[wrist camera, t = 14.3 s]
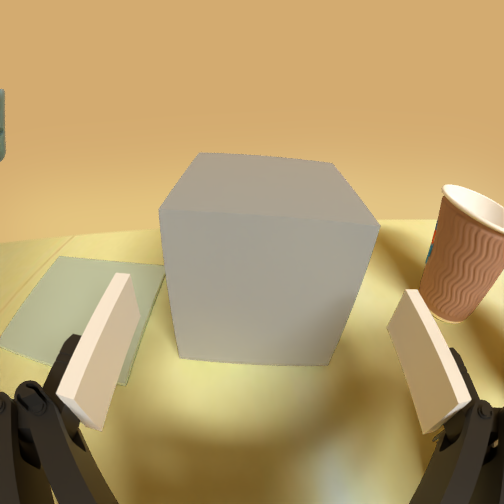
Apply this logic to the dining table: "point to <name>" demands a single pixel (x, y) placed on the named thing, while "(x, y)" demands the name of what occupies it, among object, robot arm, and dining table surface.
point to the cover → (263, 258)
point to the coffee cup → (463, 254)
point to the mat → (77, 307)
